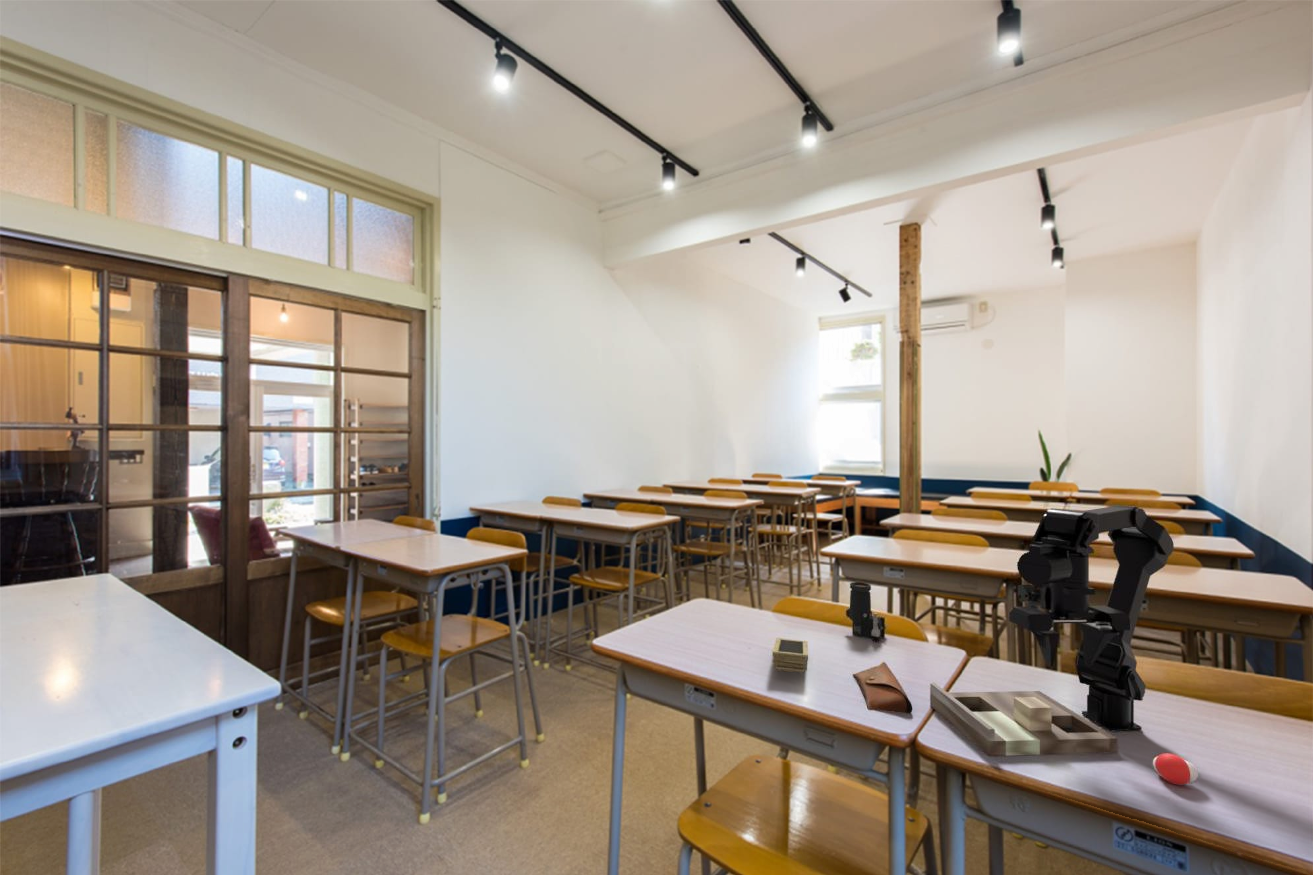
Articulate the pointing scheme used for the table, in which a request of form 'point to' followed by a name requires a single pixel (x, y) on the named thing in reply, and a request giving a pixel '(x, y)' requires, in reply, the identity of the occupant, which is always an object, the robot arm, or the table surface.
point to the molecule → (1175, 769)
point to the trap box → (1018, 724)
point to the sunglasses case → (883, 690)
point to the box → (790, 655)
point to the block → (1032, 713)
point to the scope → (864, 613)
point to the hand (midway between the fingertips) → (1068, 665)
